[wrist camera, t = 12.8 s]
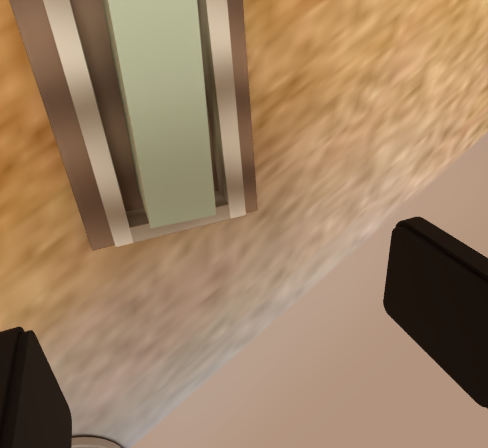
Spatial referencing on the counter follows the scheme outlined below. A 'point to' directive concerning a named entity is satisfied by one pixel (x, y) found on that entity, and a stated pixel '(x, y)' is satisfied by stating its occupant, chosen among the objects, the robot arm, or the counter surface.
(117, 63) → the bar
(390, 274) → the robot arm
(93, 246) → the brown rectangular tray
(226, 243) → the counter surface
